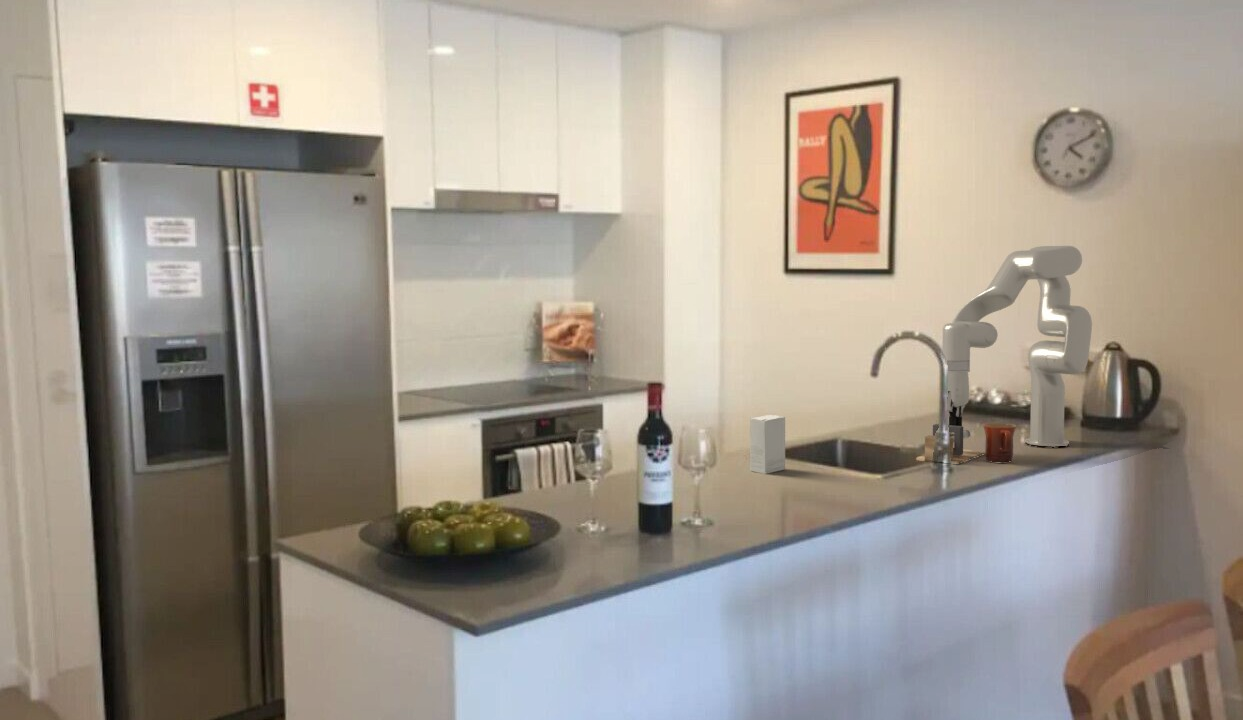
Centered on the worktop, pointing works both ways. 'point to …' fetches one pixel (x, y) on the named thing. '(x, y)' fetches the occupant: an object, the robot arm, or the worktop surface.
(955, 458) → the board block
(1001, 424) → the mug
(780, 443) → the skincare box
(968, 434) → the pipe
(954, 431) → the gray square frame
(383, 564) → the worktop surface
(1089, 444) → the worktop surface
